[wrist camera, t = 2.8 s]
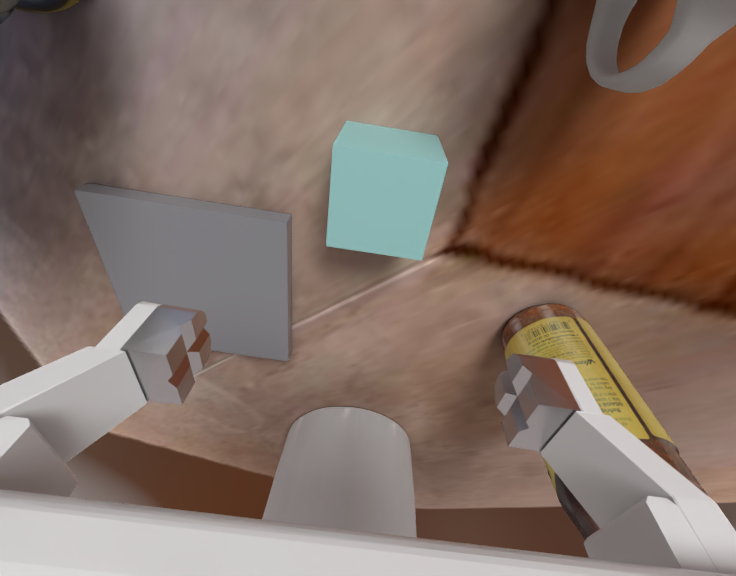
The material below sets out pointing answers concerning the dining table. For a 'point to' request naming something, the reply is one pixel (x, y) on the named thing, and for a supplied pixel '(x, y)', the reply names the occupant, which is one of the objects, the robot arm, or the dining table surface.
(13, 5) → the apothecary jar
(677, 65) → the cup
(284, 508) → the utensil holder
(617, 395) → the sauce bottle
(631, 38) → the dining table surface
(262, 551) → the robot arm
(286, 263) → the tile
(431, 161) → the cube
